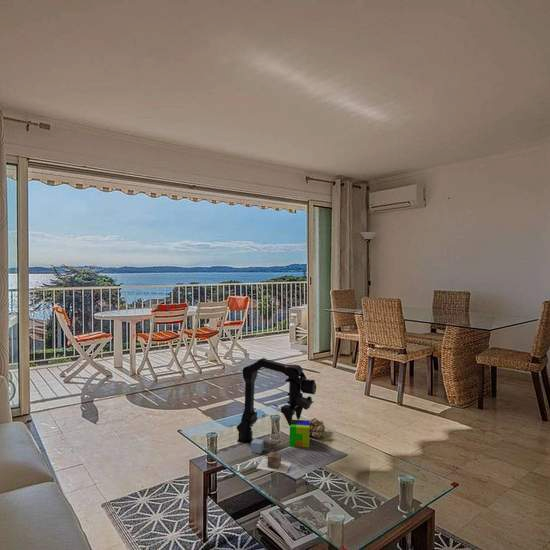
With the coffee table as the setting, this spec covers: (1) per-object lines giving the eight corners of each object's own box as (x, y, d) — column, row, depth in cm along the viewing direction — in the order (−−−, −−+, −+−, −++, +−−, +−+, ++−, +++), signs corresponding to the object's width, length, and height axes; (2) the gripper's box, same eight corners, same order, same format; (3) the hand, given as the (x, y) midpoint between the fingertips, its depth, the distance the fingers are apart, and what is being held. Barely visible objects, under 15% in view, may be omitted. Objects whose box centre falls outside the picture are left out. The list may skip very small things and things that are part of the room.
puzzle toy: (309, 439, 215) (309, 420, 215) (309, 447, 205) (309, 427, 205) (290, 438, 216) (290, 419, 216) (289, 446, 206) (289, 426, 206)
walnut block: (267, 467, 184) (267, 456, 183) (270, 462, 188) (270, 451, 188) (278, 468, 182) (278, 457, 182) (280, 463, 187) (281, 453, 187)
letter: (256, 468, 182) (256, 468, 182) (262, 458, 192) (262, 458, 192) (286, 473, 179) (286, 473, 179) (291, 463, 188) (291, 462, 188)
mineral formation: (297, 435, 219) (309, 425, 232) (319, 445, 213) (330, 433, 225) (299, 422, 218) (311, 412, 231) (322, 431, 211) (333, 420, 224)
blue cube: (250, 452, 198) (251, 442, 198) (254, 448, 203) (254, 438, 203) (260, 454, 197) (260, 444, 197) (263, 449, 202) (263, 439, 202)
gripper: (301, 399, 189) (300, 432, 189) (317, 389, 205) (316, 419, 205) (280, 395, 194) (279, 427, 194) (297, 385, 210) (296, 415, 211)
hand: (294, 422), depth 201 cm, fingers open, 9 cm apart
